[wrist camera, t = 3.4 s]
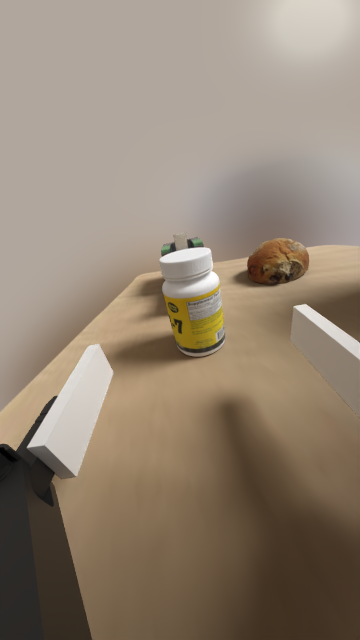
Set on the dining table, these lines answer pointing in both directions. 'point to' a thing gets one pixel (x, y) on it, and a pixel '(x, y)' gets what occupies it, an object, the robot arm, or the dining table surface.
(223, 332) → the supplement bottle
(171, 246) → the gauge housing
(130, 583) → the dining table surface
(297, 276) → the bread roll
